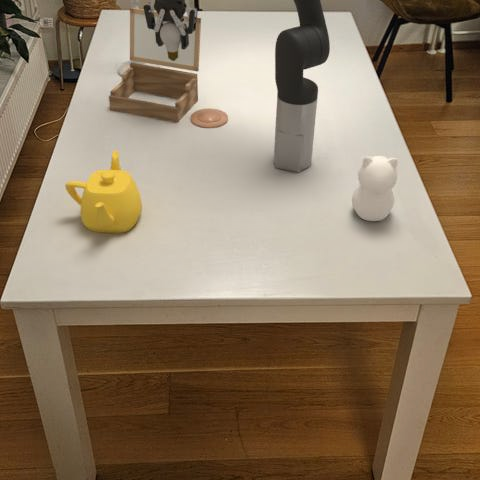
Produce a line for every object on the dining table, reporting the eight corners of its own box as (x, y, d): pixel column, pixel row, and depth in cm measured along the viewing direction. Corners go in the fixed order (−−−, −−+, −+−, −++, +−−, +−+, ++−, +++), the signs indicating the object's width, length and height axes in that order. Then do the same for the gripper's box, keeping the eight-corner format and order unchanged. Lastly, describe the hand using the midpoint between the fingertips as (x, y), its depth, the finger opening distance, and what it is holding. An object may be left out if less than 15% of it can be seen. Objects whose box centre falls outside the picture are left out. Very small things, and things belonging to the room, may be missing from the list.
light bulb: (174, 66, 179) (172, 27, 173) (157, 61, 182) (154, 22, 176) (189, 59, 183) (187, 20, 177) (172, 54, 185) (169, 16, 180)
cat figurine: (351, 226, 150) (360, 166, 141) (348, 193, 160) (356, 135, 151) (393, 228, 150) (405, 169, 141) (388, 195, 160) (398, 137, 151)
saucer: (220, 130, 183) (220, 128, 183) (184, 124, 186) (184, 121, 185) (233, 114, 191) (233, 111, 190) (199, 108, 193) (199, 105, 193)
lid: (200, 18, 184) (201, 18, 185) (130, 8, 190) (131, 7, 190) (197, 71, 191) (198, 70, 192) (129, 60, 196) (131, 59, 197)
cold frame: (177, 122, 186) (176, 94, 181) (110, 109, 191) (107, 82, 186) (197, 100, 197) (197, 73, 192) (133, 89, 202) (131, 62, 197)
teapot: (80, 188, 160) (74, 146, 154) (148, 189, 160) (145, 148, 154) (58, 247, 143) (50, 203, 136) (134, 249, 143) (130, 205, 136)
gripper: (134, -19, 169) (140, 48, 179) (190, -14, 165) (193, 55, 175) (148, -28, 175) (153, 39, 185) (202, -22, 171) (204, 45, 181)
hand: (172, 46), depth 180 cm, fingers closed on light bulb, 6 cm apart
